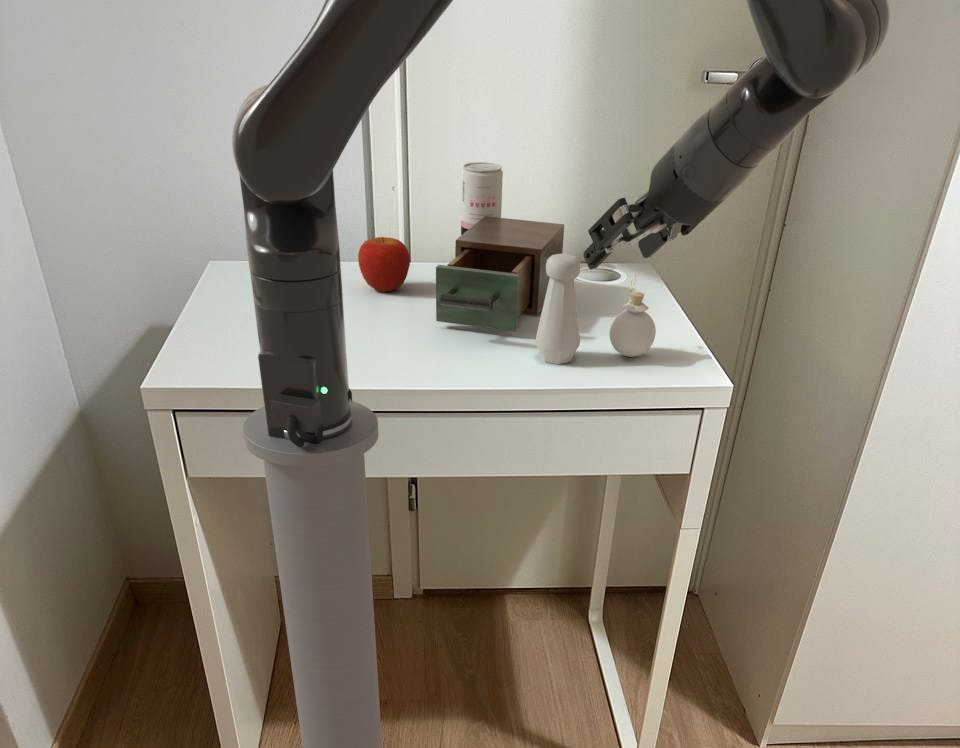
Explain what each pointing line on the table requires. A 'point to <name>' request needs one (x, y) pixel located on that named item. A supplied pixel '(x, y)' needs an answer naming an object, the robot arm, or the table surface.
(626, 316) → the ornament
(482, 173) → the beverage can
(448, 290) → the drawer
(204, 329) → the table surface
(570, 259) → the salt shaker
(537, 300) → the cabinet
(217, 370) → the table surface
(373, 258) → the apple
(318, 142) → the robot arm
